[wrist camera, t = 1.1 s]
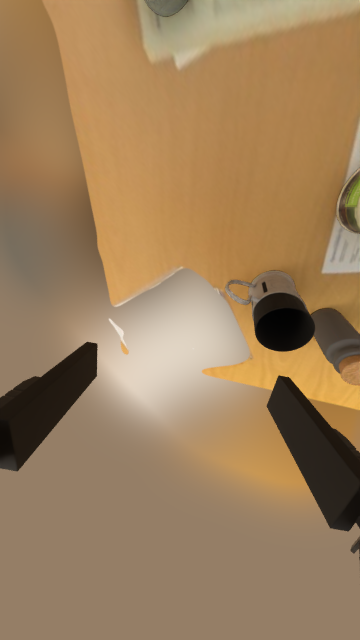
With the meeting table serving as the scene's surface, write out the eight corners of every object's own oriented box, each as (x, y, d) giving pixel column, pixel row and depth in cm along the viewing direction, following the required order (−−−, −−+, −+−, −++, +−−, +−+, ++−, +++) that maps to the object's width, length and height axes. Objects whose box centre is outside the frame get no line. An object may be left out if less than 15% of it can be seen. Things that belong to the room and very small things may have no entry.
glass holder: (273, 316, 41) (286, 363, 28) (219, 284, 40) (208, 317, 28) (305, 285, 35) (338, 325, 23) (243, 247, 35) (243, 268, 23)
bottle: (320, 336, 40) (354, 394, 28) (300, 320, 39) (326, 371, 27) (349, 320, 36) (402, 377, 24) (328, 302, 36) (371, 351, 24)
